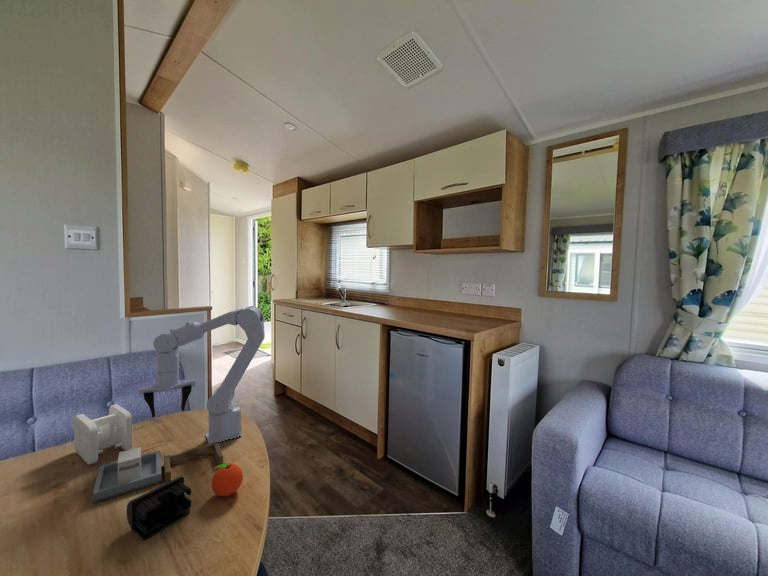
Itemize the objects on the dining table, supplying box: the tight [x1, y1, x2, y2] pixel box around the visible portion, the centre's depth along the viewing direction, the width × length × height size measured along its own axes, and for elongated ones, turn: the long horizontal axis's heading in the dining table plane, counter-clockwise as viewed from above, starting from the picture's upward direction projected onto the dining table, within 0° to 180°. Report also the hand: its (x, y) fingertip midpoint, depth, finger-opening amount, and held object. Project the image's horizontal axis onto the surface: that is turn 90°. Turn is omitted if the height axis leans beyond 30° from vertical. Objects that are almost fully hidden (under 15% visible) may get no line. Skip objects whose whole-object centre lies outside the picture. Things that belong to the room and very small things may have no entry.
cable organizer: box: [72, 403, 133, 465], centre depth 93 cm, size 15×11×12 cm
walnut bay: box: [163, 442, 224, 484], centre depth 88 cm, size 13×9×2 cm
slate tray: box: [92, 450, 162, 505], centre depth 82 cm, size 13×13×2 cm
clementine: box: [211, 463, 244, 497], centre depth 77 cm, size 8×7×7 cm
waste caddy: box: [117, 446, 142, 484], centre depth 81 cm, size 4×7×6 cm, turn 37°
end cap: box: [126, 476, 193, 541], centre depth 69 cm, size 10×7×7 cm
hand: (168, 412), depth 100 cm, fingers open, 7 cm apart
